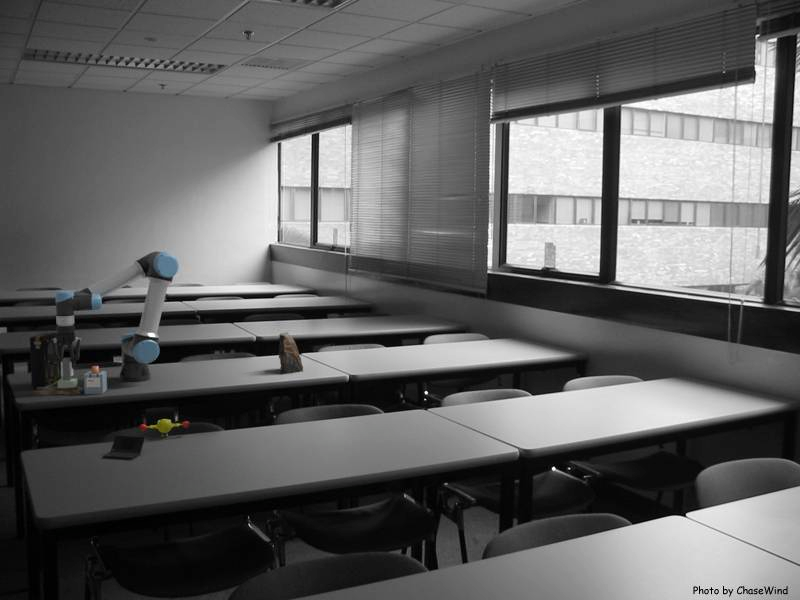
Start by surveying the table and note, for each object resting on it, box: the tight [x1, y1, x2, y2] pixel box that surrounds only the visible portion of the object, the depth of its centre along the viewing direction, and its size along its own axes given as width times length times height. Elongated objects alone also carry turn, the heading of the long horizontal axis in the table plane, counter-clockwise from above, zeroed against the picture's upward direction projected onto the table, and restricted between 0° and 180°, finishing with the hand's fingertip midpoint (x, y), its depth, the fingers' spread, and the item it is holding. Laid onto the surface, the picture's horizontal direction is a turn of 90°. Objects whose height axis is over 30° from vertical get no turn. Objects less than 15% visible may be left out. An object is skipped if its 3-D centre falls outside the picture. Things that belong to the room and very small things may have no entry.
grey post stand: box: [57, 357, 78, 388], centre depth 357 cm, size 7×6×13 cm
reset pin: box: [91, 365, 100, 378], centre depth 359 cm, size 3×3×5 cm
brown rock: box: [278, 331, 304, 375], centre depth 412 cm, size 13×13×20 cm
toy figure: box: [138, 418, 190, 438], centre depth 290 cm, size 18×6×7 cm, turn 109°
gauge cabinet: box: [83, 370, 108, 395], centre depth 359 cm, size 8×8×9 cm
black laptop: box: [102, 435, 145, 461], centre depth 268 cm, size 12×7×10 cm
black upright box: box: [29, 331, 62, 390], centre depth 370 cm, size 16×9×25 cm, turn 177°
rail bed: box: [33, 385, 83, 396], centre depth 357 cm, size 19×7×3 cm, turn 98°
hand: (67, 375), depth 357 cm, fingers closed on grey post stand, 3 cm apart
